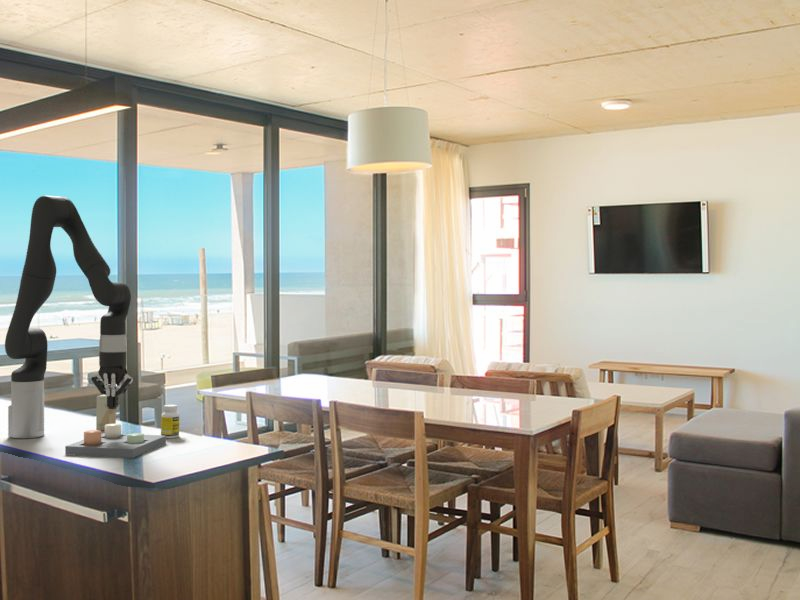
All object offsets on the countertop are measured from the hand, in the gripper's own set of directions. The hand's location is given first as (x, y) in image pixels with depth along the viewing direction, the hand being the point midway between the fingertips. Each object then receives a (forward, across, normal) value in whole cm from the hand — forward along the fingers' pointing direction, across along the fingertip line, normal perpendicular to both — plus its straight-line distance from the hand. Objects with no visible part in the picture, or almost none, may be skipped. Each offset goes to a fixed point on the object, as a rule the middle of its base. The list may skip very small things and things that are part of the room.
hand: (112, 408), depth 236 cm
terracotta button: (+9, 0, -11) cm, 14 cm away
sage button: (+10, +10, -5) cm, 15 cm away
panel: (+10, +5, -6) cm, 13 cm away
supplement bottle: (+11, +11, +14) cm, 21 cm away
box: (+11, -15, +22) cm, 29 cm away
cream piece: (+9, 0, 0) cm, 9 cm away
